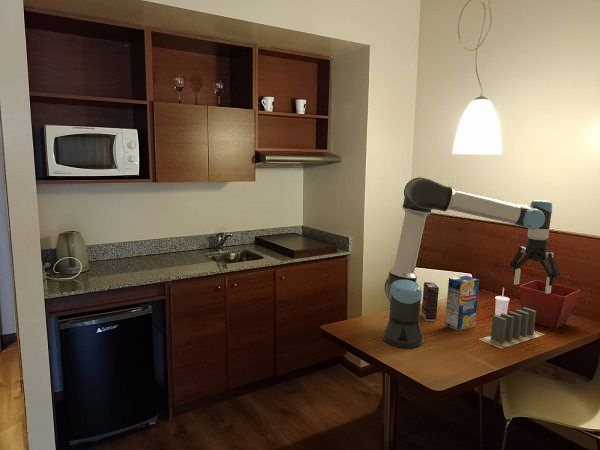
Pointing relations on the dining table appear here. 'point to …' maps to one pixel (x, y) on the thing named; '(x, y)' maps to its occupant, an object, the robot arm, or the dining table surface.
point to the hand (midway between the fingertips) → (531, 288)
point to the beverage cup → (501, 304)
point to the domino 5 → (530, 320)
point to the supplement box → (430, 301)
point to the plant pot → (549, 302)
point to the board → (514, 341)
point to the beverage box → (462, 302)
